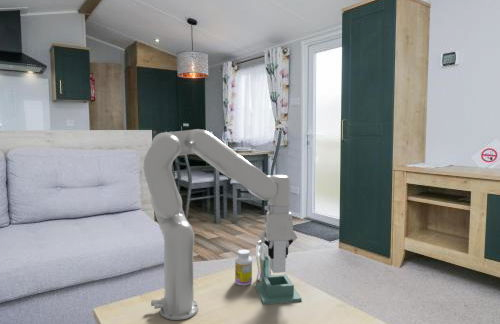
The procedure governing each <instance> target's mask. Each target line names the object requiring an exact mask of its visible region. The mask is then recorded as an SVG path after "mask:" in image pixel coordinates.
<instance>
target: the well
mask: <svg viewBox="0 0 500 324" xmlns="http://www.w3.org/2000/svg"><path fill="white" fill-rule="evenodd" d="M254 286H255V289H256V292H257V293H258V295H259V297H260V300H261V302H262V304H263V305H271V304H272V305H273V304H283V303H293V302H295V303H296V302H301V301H302V299H303V298H302V297H301V295H300V294H299V293H298V291H297V289H296V288H295V285H294V283H293V282H292V281H291V279H290V277H289V276H288V274H287V273H285V274H273V275H272V274H271V276H262V282H261V283H255V285H254Z"/></svg>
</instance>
